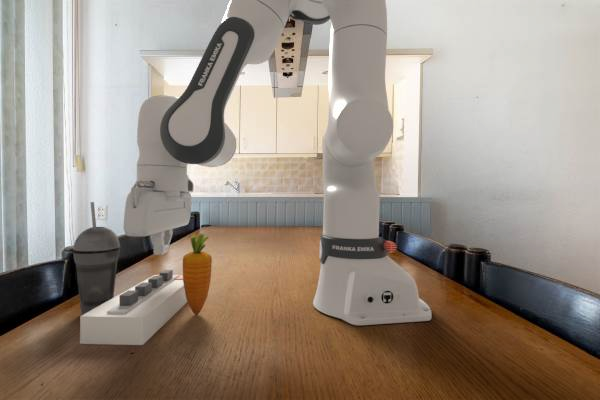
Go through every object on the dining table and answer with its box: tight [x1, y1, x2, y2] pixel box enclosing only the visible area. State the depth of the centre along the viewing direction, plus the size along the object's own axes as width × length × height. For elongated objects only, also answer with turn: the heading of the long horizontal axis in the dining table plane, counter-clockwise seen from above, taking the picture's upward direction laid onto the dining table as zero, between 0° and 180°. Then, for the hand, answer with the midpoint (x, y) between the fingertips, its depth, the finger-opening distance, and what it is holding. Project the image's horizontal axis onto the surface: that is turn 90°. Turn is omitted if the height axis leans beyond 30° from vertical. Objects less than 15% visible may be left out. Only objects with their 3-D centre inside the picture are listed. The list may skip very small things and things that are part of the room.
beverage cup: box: [71, 201, 122, 316], centre depth 54 cm, size 7×7×20 cm
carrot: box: [182, 232, 213, 316], centre depth 54 cm, size 5×5×15 cm
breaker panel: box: [79, 269, 188, 346], centre depth 54 cm, size 9×22×6 cm, turn 0°
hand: (161, 253), depth 58 cm, fingers closed
